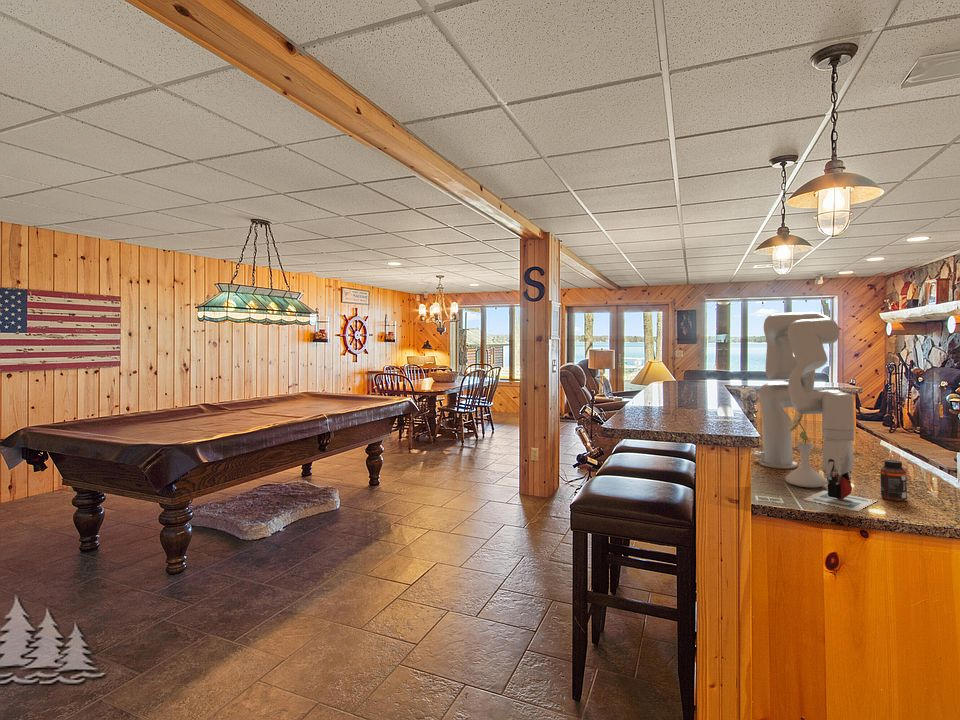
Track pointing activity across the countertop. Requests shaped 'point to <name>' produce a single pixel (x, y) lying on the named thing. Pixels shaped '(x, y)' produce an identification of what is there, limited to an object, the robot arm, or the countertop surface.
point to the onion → (844, 487)
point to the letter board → (840, 501)
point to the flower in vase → (804, 462)
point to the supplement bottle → (893, 481)
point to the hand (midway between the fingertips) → (839, 494)
